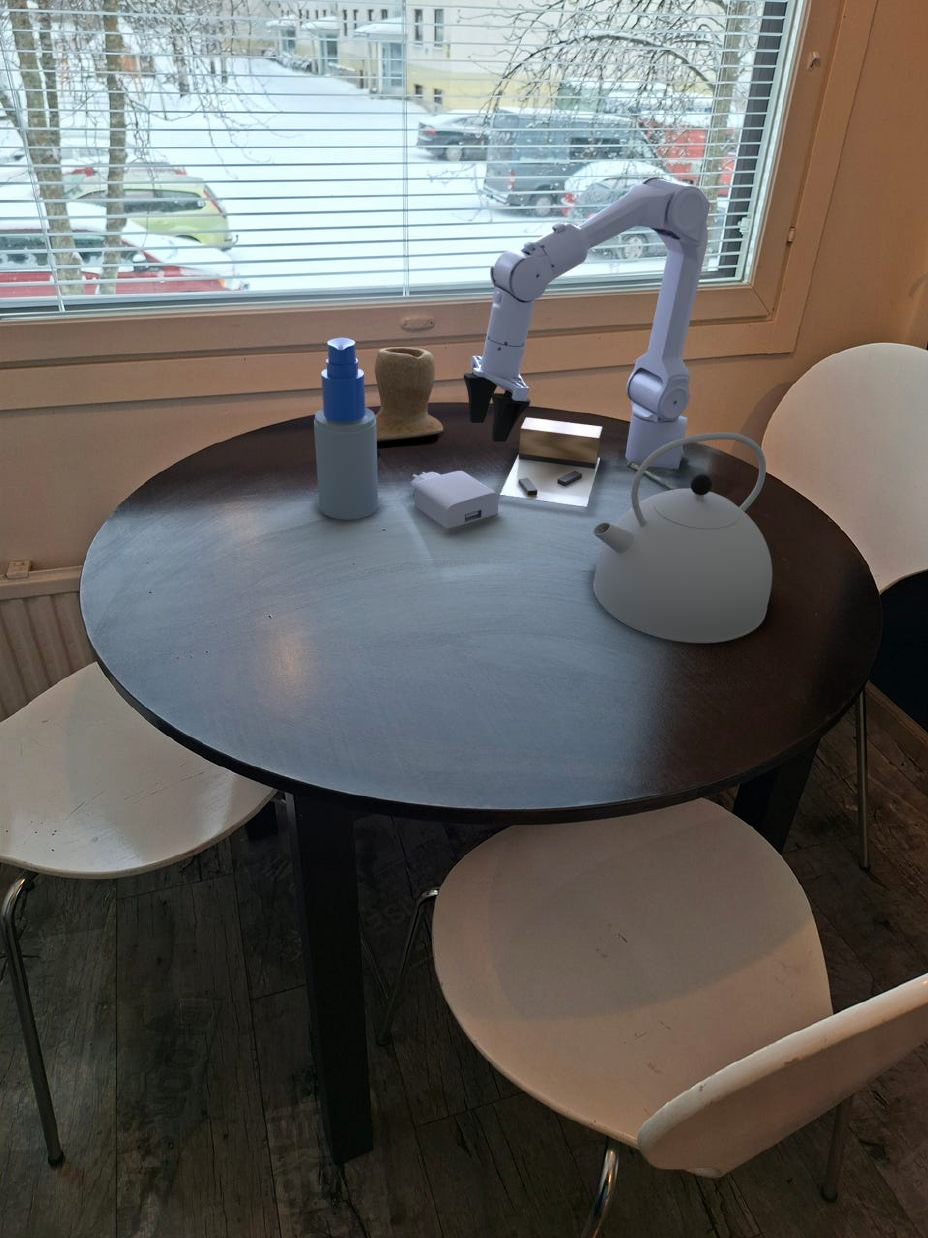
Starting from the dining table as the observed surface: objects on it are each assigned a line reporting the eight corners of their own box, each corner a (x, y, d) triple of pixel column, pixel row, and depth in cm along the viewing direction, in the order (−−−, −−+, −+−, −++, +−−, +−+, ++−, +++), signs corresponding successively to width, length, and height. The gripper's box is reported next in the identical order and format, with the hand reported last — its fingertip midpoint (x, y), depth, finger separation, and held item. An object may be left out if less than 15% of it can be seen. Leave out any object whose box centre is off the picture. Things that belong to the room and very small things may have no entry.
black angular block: (574, 475, 143) (574, 470, 142) (582, 478, 142) (582, 473, 142) (557, 483, 140) (557, 478, 140) (564, 486, 139) (565, 481, 139)
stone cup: (427, 416, 164) (428, 336, 155) (449, 441, 155) (451, 357, 146) (348, 425, 159) (345, 342, 150) (366, 451, 150) (364, 365, 141)
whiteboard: (603, 462, 150) (604, 457, 149) (590, 515, 134) (590, 509, 133) (517, 451, 152) (518, 445, 152) (494, 501, 136) (494, 495, 136)
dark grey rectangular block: (518, 483, 140) (518, 478, 139) (527, 482, 140) (527, 477, 140) (527, 495, 136) (528, 491, 136) (537, 494, 136) (537, 490, 136)
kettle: (618, 656, 104) (648, 485, 91) (553, 560, 122) (569, 405, 109) (801, 630, 110) (852, 465, 97) (713, 542, 128) (747, 393, 115)
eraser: (598, 457, 149) (602, 426, 146) (595, 469, 145) (599, 437, 142) (523, 447, 151) (525, 417, 148) (518, 458, 147) (520, 428, 144)
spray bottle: (327, 490, 137) (317, 329, 123) (383, 494, 137) (379, 333, 123) (313, 517, 130) (301, 349, 116) (372, 521, 129) (367, 354, 115)
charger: (442, 481, 141) (497, 519, 131) (393, 494, 137) (446, 534, 127) (442, 454, 139) (499, 490, 129) (392, 467, 134) (447, 505, 124)
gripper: (459, 324, 129) (444, 413, 136) (505, 354, 118) (486, 449, 125) (500, 327, 132) (483, 414, 139) (549, 357, 121) (527, 449, 128)
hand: (487, 431), depth 132 cm, fingers open, 7 cm apart
